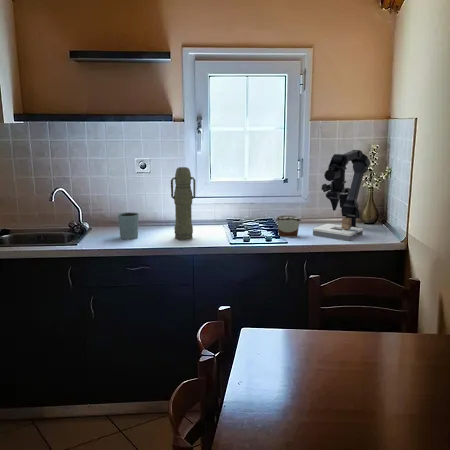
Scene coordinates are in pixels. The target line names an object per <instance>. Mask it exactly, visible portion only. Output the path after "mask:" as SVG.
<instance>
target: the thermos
mask: <svg viewBox="0 0 450 450" xmlns="http://www.w3.org/2000/svg"><path fill="white" fill-rule="evenodd" d="M192 180H193V181H192ZM174 182H175V183H174ZM192 183H193V187H191V184H192ZM174 184H175V189H174ZM192 189H193V190H192ZM170 191H171V192H170V194H171V195H170V198H172V199H173V200H174V209H175V223H174V239H175V240H178V241H189V240H192V239H193V233H194V230H193V229H194V227H193V221H192V205H193V200H194V199H195V198H196V178H194V176H192V174H191V170H190V168H188V167H187V166H186V167H185V166H181V167H179V166H178V167H177V168H176V170H175V175H174V177H172V178H171V180H170Z"/></svg>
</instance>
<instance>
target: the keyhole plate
mask: <svg viewBox="0 0 450 450" xmlns="http://www.w3.org/2000/svg"><path fill="white" fill-rule="evenodd" d="M354 234H355V235H354ZM363 234H364V228H363V227H358V228H356V227H351V228H350V229H348V230H344V229H342V224H333V223H324V224H322V225H319V226H316V227H314V228H312V236H316V237H322V238H327V239H328V238H329V239H333V240H340V241H348V242H349V241H350V242H351V241H352V236H353V235H354V236H360V235H361V236H364V235H363Z"/></svg>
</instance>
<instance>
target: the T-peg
mask: <svg viewBox="0 0 450 450" xmlns="http://www.w3.org/2000/svg"><path fill="white" fill-rule="evenodd" d="M341 225H342V229H344V230H348V229H350V228H351V218H346V217H344V218H342V219H341Z"/></svg>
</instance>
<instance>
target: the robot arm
mask: <svg viewBox="0 0 450 450" xmlns="http://www.w3.org/2000/svg"><path fill="white" fill-rule="evenodd" d="M349 162H351V164H352V170H353V177H352V179H351V180H352V181H351V184H350V187H345V184H346V183H347V181H346V177H345V176H346V170H347V167H346V166H347V165H349ZM370 165H371V162H370V159H369V157H368V156H367V155H366V154H365V153H364V152H363V151H362V150H360V149H353V150H350V151H347V152H345V153H342V154H341V153H334V154H333V155H332V156H331V158H330V162H329V164H328V169H327V170H325V171H324V174H323V175H324V176H323V177H324V178H325V180H326V181H328V182H330V184H327V183H323V184H322V185H321V191H323V192H322V193H325V198H327V200H329V201H330V203H331V207H332V210H333V211H336V209H337V207H338V204H339V208H341V209H340V210H341V217H344V218H351V227H356V228H359V226H357V219H361V218H360V217H361V214H362V213H361V211H360V209H359V202H358V197H359V193H360V189H361V185H362V181H363V177H364V175H365V173H367V171H368V170H369V167H370Z"/></svg>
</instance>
